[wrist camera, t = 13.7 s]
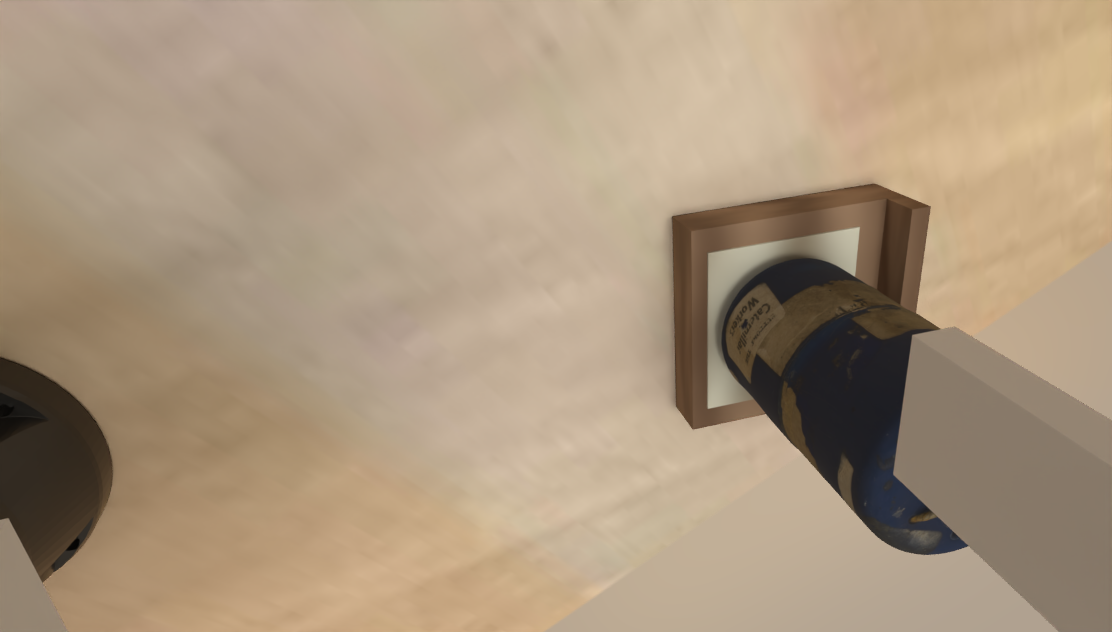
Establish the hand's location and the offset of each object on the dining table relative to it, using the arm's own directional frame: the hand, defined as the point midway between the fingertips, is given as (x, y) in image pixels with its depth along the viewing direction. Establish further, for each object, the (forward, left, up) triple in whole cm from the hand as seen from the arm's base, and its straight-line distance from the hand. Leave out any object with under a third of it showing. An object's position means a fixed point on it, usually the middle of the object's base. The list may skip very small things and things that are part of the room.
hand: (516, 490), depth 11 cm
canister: (+21, -15, -30) cm, 39 cm away
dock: (+22, -15, -33) cm, 42 cm away
